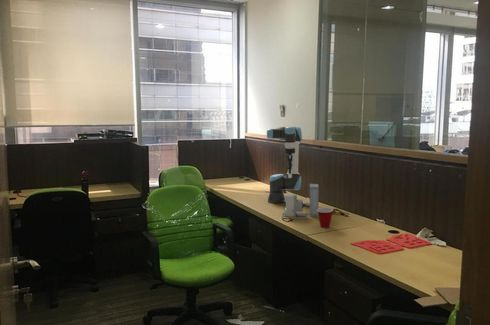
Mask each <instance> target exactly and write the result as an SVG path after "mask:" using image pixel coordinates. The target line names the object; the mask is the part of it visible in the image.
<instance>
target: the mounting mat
mask: <svg viewBox="0 0 490 325" xmlns="http://www.w3.org/2000/svg"><path fill="white" fill-rule="evenodd" d="M281 215H282V216H281V219H285V220H286V219H287V218H291V219H293V220H308V213H307V212H296V217H289V216H285V212H282V214H281ZM291 219H290V220H291ZM287 220H288V219H287Z"/></svg>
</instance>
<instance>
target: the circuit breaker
mask: <svg viewBox="0 0 490 325" xmlns="http://www.w3.org/2000/svg"><path fill="white" fill-rule="evenodd" d="M297 195H298V194H294V193H292V194H291V193H285V194H284V196H285V202H284V203H285V208H284V213H285V216H289V217H296V213H303V208H304V207H305V206H306V203H305V204H304V201H303V199H297Z"/></svg>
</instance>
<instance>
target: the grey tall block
mask: <svg viewBox="0 0 490 325" xmlns="http://www.w3.org/2000/svg"><path fill="white" fill-rule="evenodd" d="M319 188H320V187H319V184H318V183H309V211H308V212H309V217H310V218H311V217H316V218H317V217H318V218H319V214H318V211H317V209H319V194H320V190H319Z"/></svg>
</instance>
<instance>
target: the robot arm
mask: <svg viewBox="0 0 490 325" xmlns="http://www.w3.org/2000/svg"><path fill="white" fill-rule="evenodd" d="M266 138H267V139H270V140H273V139H274V140H278V141H279V140H280V141H284V143H283V145H284V153H285V154H287V166H288V167H287V173H286V174H285V175H284V174H283V173H277V174H276V173H275V174H273V175H270V176H269V194H268V197H267V202H268V203H270V204H283V203H286V202H285V193H284V190H285V191H299V190H300V188H301V183H302V177H303V176H301V173H299V151H300V150H299V147H300V144H301V143H302V141H303V136H302V128H301V127H300V126H281V127H276V128H268V129H267V130H266Z"/></svg>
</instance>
